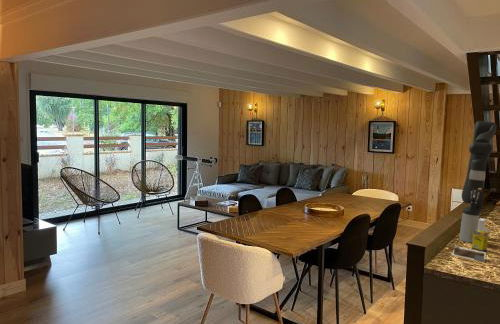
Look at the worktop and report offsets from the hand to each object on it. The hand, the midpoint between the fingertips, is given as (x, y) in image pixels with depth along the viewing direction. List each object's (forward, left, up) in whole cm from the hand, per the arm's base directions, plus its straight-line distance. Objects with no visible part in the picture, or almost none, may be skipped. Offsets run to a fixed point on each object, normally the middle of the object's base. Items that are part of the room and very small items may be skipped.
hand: (472, 209), depth 206 cm
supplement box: (-15, +5, -25) cm, 30 cm away
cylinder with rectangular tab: (-50, +4, -25) cm, 56 cm away
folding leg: (+12, +1, -23) cm, 26 cm away
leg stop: (+15, +6, -24) cm, 28 cm away
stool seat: (+6, +1, -25) cm, 26 cm away
